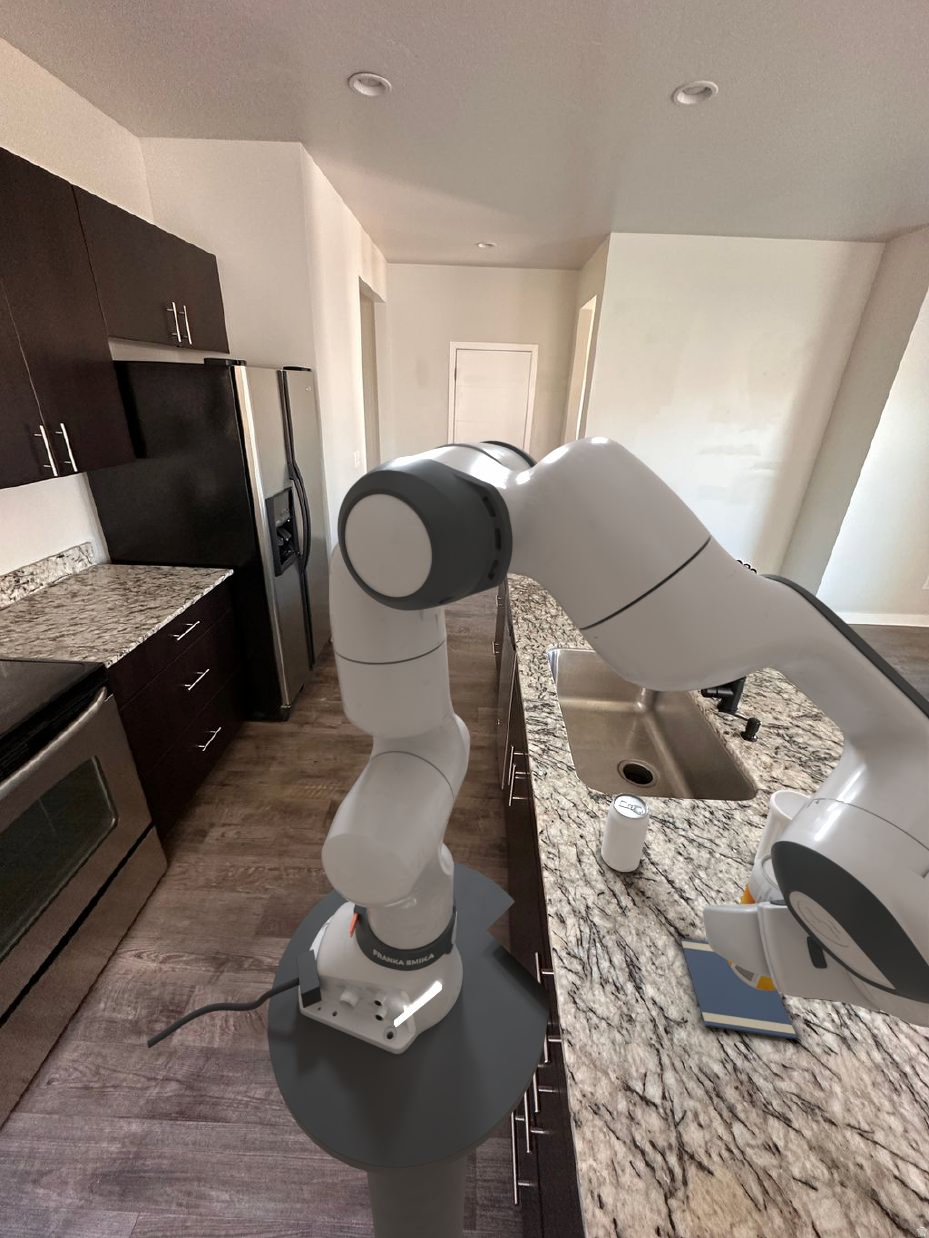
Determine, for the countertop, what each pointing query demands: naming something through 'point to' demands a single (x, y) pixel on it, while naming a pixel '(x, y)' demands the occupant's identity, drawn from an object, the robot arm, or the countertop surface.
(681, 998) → the countertop surface
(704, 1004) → the blue striped coaster
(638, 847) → the can
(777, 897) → the beer can
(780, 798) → the cup
